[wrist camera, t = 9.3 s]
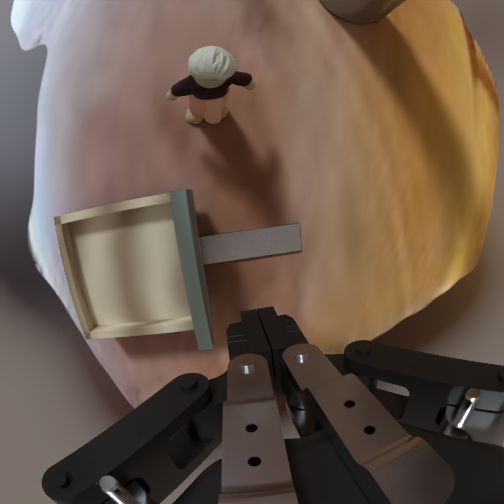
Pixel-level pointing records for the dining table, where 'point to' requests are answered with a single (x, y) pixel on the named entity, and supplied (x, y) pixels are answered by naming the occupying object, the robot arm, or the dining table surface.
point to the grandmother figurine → (209, 84)
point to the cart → (137, 268)
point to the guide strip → (250, 243)
